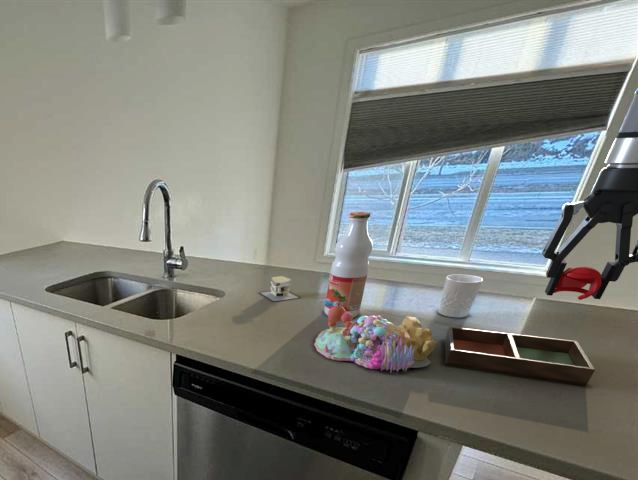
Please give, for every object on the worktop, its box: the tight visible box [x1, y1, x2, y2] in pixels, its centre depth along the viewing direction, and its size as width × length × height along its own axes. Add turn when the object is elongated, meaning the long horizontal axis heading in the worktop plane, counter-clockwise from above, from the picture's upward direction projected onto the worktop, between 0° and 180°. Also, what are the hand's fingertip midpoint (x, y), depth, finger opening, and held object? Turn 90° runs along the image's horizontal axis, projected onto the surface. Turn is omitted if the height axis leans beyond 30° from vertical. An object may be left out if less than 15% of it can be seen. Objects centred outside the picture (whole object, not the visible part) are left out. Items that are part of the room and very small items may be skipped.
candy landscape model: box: [313, 305, 438, 374], centre depth 96 cm, size 25×24×9 cm
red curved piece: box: [553, 266, 602, 301], centre depth 80 cm, size 8×6×6 cm
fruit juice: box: [323, 211, 374, 319], centre depth 113 cm, size 9×9×28 cm
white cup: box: [437, 273, 484, 319], centre depth 111 cm, size 8×8×10 cm
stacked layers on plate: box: [260, 275, 299, 302], centre depth 137 cm, size 10×9×6 cm
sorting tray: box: [444, 326, 596, 387], centre depth 88 cm, size 22×14×4 cm, turn 57°
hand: (571, 294), depth 81 cm, fingers closed on red curved piece, 6 cm apart
